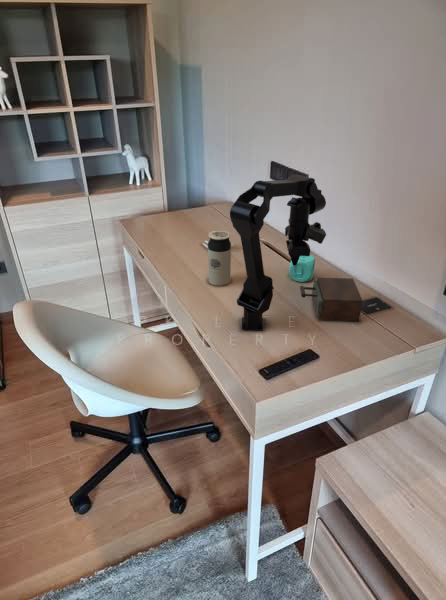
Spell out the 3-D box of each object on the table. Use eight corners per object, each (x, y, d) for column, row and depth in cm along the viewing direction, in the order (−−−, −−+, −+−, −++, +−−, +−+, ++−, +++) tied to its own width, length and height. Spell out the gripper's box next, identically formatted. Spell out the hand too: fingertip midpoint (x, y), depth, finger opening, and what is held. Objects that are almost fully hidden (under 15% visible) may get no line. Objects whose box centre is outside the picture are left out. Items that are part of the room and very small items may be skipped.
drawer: (301, 316, 133) (302, 300, 130) (297, 295, 145) (298, 279, 142) (351, 318, 132) (354, 301, 129) (343, 296, 144) (345, 281, 141)
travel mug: (218, 274, 160) (217, 228, 151) (234, 280, 156) (235, 233, 147) (204, 281, 155) (203, 235, 146) (220, 288, 151) (220, 240, 142)
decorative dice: (313, 274, 160) (316, 254, 156) (310, 283, 154) (312, 263, 150) (292, 271, 163) (294, 251, 159) (288, 280, 156) (289, 260, 152)
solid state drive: (391, 308, 140) (391, 307, 139) (366, 315, 136) (367, 313, 136) (376, 299, 145) (376, 297, 145) (352, 304, 142) (353, 303, 141)
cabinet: (320, 320, 133) (323, 299, 129) (314, 297, 145) (317, 277, 142) (358, 321, 132) (362, 300, 128) (349, 298, 145) (352, 278, 141)
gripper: (330, 230, 121) (324, 279, 129) (321, 209, 137) (316, 253, 145) (291, 229, 122) (286, 277, 129) (286, 208, 138) (283, 252, 145)
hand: (294, 264), depth 137 cm, fingers closed
